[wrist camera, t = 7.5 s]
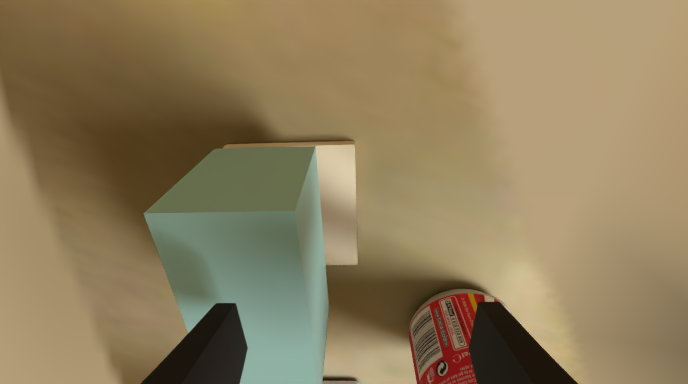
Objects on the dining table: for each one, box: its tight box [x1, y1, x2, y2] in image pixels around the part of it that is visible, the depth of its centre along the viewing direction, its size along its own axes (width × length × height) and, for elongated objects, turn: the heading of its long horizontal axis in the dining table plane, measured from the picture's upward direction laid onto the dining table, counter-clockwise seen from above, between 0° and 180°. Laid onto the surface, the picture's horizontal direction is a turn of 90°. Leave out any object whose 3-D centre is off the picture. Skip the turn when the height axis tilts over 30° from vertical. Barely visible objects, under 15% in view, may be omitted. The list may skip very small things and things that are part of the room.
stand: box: [223, 141, 358, 265], centre depth 18 cm, size 8×7×3 cm
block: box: [143, 146, 329, 384], centre depth 15 cm, size 10×5×6 cm, turn 2°
